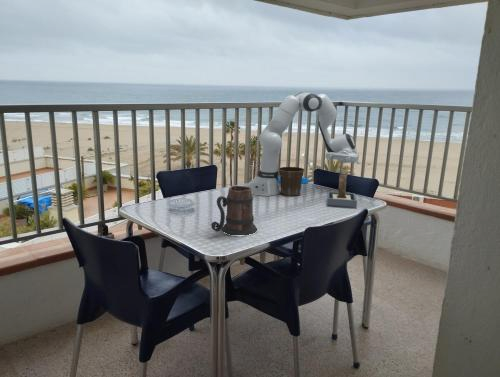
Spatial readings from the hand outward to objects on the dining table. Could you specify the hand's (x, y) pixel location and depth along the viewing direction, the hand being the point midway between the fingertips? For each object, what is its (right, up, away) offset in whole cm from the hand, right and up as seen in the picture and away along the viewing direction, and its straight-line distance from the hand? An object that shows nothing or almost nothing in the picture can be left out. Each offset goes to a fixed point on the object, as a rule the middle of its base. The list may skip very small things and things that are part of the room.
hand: (338, 158), depth 221 cm
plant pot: (-28, -22, +10) cm, 37 cm away
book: (-27, -16, +35) cm, 47 cm away
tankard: (-61, -38, -55) cm, 91 cm away
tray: (-1, -27, -10) cm, 29 cm away
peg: (-1, -26, -10) cm, 28 cm away
